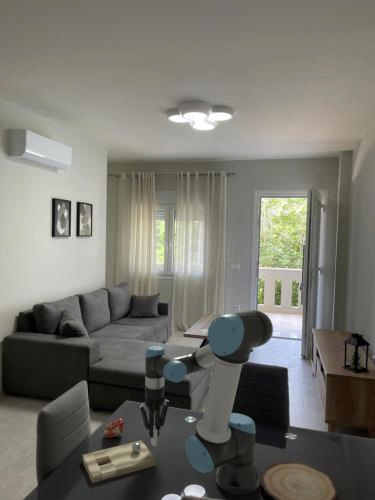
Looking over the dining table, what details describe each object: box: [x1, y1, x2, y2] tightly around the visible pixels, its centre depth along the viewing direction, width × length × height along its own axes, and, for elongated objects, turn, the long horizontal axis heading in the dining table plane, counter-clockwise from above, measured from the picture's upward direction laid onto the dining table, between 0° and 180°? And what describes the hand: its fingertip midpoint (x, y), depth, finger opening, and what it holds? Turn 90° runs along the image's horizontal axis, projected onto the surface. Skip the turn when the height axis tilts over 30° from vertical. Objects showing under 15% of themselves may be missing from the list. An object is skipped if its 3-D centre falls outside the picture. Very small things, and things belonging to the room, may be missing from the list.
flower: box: [103, 417, 125, 439], centre depth 169 cm, size 10×9×8 cm
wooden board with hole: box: [82, 439, 157, 484], centre depth 150 cm, size 15×24×2 cm, turn 118°
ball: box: [132, 443, 141, 453], centre depth 153 cm, size 4×4×4 cm
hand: (154, 444), depth 157 cm, fingers closed
